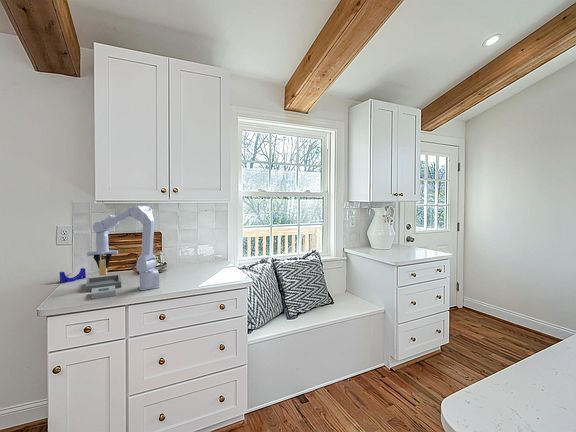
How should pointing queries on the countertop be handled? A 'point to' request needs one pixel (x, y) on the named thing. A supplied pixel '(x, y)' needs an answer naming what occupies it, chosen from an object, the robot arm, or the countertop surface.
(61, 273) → the cable clip
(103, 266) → the fuse
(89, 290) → the tray
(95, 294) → the fuse holder
